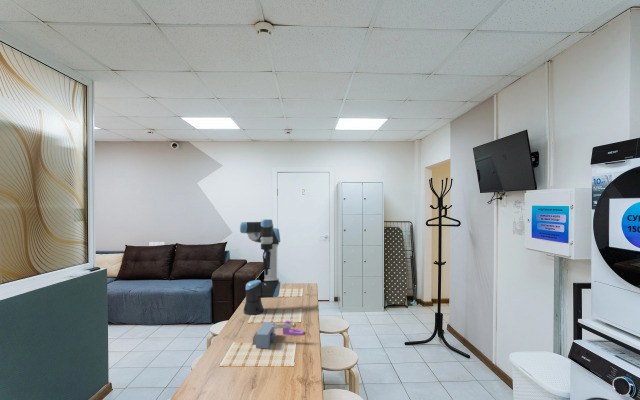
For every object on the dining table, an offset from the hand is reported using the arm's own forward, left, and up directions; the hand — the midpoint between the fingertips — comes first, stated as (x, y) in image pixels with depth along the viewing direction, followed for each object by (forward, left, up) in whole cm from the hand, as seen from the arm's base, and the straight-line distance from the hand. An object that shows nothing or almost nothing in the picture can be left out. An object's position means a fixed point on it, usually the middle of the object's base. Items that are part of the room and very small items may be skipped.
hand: (266, 279), depth 195 cm
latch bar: (+12, +14, -26) cm, 32 cm away
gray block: (+12, +2, -35) cm, 37 cm away
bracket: (0, +17, -35) cm, 39 cm away
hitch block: (+12, +2, -34) cm, 36 cm away
